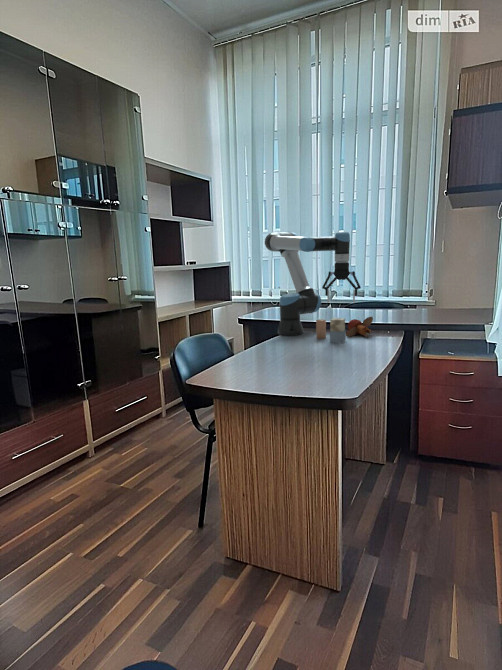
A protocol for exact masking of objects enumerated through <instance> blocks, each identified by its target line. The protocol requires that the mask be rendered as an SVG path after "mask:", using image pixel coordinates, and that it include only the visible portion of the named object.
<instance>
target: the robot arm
mask: <svg viewBox="0 0 502 670" xmlns="http://www.w3.org/2000/svg"><path fill="white" fill-rule="evenodd" d="M350 235H351V234H350V233H349V232H347V231H346V232H344V231H343V232H340V231H339V232H335V234H334V236H299V235H298V234H297V233H296V232H292V231H284V232H283V231H282V232H280V231H277V232H275V231H273V232H271V233H270V232H269V233H268V234H267V235H266V236H265V238H264V246H265V248H266V249H267V250H269V251H271V252H280V256H281V257H282V258H284V260H285V263H286V265H287V268H288V273H289V274H290V279H291V280H292V283H293V285H294V286H293V287H294V289H295V291H296V292H293V293H292V292H291V293H286V294H282V295H281V296H280V297H279V314H280V315H279V316H280V317H279V319H280V320H279V324H278V327H277V335H279V336H288V337H290V336H294V337H295V336H301V335H303V334H304V327H303V325H302V322H301V315H307V314H313V313H316V312H318V311H319V310H320V308H321V305H322V298H321V296H320V294H319V293H318V292H315V289H314V288H312V287H310V283H309V281H308V279H307V278H308V277H307V275H306V273H305V269H304V267H303V264H302V262H301V259H300V256H299V252H301V251H302V252H306V253H310V252H328V251H329V252H330V251H331V252H333V251H334V262H335V263H334V271H330V270H329V271H328V273H327V277H326V279H325V281H324V283H323V285H322V287H321V288H322V289H323V290H325V295H324V296H326V298H327V303H330V289H329V288H331V286H332V285H333V284H334V283H335V282H336V280H339V281H342V280H343V281H345V280H346V281H347V282H348V283H349V284H350V285H351V286H352V288H353V292H352V293H353V295H352V302H353V303H355V302H356V299H355V298H356V296H358V290H360V289H361V284H360V283H359V281H358V279H357V276H356V272H355V271H354V270H353V271H350V263H349V262H350V248H351V247H350V246H351V245H350V244H351V237H350ZM333 275H334V278H333V279H332V280H331V281H330V282H329V280H330V278H331V276H333ZM349 275H350V276H352V277H353V279H354V282H355V283H356V285H357V286H356V285H355V284H354V283H353V281H352V280H351V279H350V278H349ZM328 282H329V284H328ZM327 284H328V285H327Z"/></svg>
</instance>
